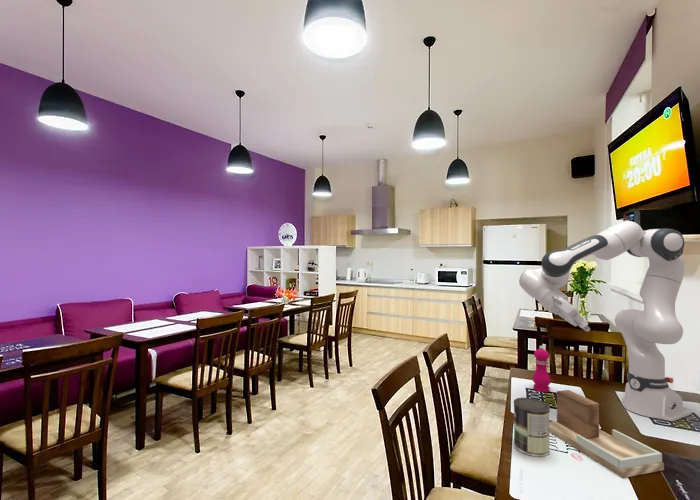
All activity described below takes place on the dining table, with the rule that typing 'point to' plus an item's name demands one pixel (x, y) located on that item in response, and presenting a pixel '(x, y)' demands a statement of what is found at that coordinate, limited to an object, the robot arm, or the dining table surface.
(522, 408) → the coffee can
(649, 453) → the sage frame
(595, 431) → the walnut box
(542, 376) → the pepper mill
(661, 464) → the birch board
